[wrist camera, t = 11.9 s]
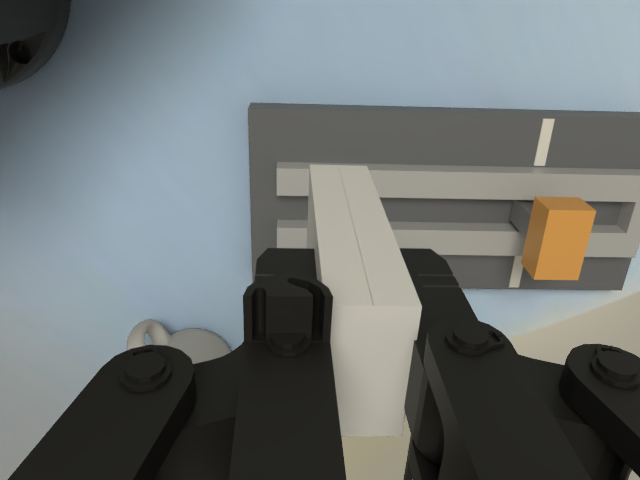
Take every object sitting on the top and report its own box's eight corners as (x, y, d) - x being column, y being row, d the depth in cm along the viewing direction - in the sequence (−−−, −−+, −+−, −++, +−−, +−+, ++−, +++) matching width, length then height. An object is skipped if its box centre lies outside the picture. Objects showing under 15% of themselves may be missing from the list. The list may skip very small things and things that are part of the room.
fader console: (254, 273, 45) (251, 295, 42) (250, 102, 39) (246, 113, 36) (609, 278, 46) (631, 299, 43) (657, 112, 40) (688, 123, 37)
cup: (112, 317, 46) (77, 379, 39) (189, 276, 45) (167, 332, 38) (187, 401, 51) (167, 471, 43) (259, 365, 49) (251, 431, 42)
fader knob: (502, 238, 42) (533, 279, 36) (513, 177, 40) (549, 209, 34) (540, 239, 42) (578, 280, 36) (554, 177, 40) (596, 210, 34)
